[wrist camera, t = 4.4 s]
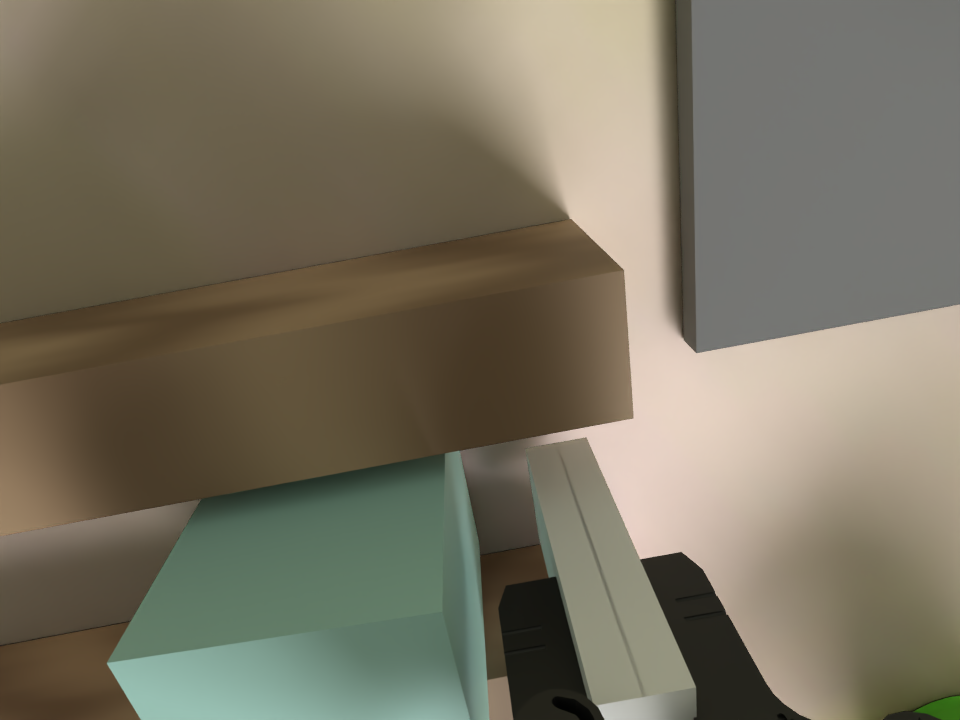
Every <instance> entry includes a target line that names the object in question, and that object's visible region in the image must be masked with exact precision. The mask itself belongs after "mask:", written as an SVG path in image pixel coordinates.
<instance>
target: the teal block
mask: <svg viewBox="0 0 960 720" xmlns="http://www.w3.org/2000/svg"><path fill="white" fill-rule="evenodd" d="M107 665H108V666H109V668H110V670H111V671H112V673H113V675H114V676H115V678H116V679H117V681H118V683H119V684H120V686H121V688H122V689H123V691H124V693H125V694H126V696H127V698H128V699H129V701H130V703H131V704H132V706H133V708H134V709H135V711H136V713H137V714H138V716H139V718H140V719H141V720H489V704H488V687H487V669H486V652H485V635H484V617H483V600H482V582H481V565H480V547H479V540H478V535H477V530H476V525H475V521H474V516H473V511H472V507H471V502H470V497H469V492H468V488H467V483H466V478H465V473H464V469H463V464H462V459H461V455H460V451H455V452H450V453H444V454H439V455H434V456H428V457H423V458H417V459H412V460H407V461H401V462H396V463H391V464H385V465H380V466H375V467H369V468H364V469H358V470H353V471H348V472H342V473H337V474H332V475H326V476H321V477H316V478H310V479H305V480H299V481H294V482H289V483H283V484H278V485H273V486H267V487H262V488H257V489H251V490H246V491H240V492H235V493H230V494H224V495H219V496H214V497H208V498H203V499H201V501H200V503H199V504H198V506H197V508H196V509H195V511H194V513H193V515H192V516H191V518H190V520H189V522H188V523H187V525H186V527H185V528H184V530H183V532H182V534H181V535H180V537H179V539H178V541H177V542H176V544H175V546H174V547H173V549H172V551H171V553H170V554H169V556H168V558H167V560H166V561H165V563H164V565H163V566H162V568H161V570H160V572H159V573H158V575H157V577H156V579H155V580H154V582H153V584H152V585H151V587H150V589H149V591H148V592H147V594H146V596H145V598H144V599H143V601H142V603H141V605H140V606H139V608H138V610H137V611H136V613H135V615H134V617H133V618H132V620H131V622H130V624H129V625H128V627H127V629H126V630H125V632H124V634H123V636H122V637H121V639H120V641H119V643H118V644H117V646H116V648H115V649H114V651H113V653H112V655H111V656H110V658H109V660H108V662H107Z"/></svg>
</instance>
